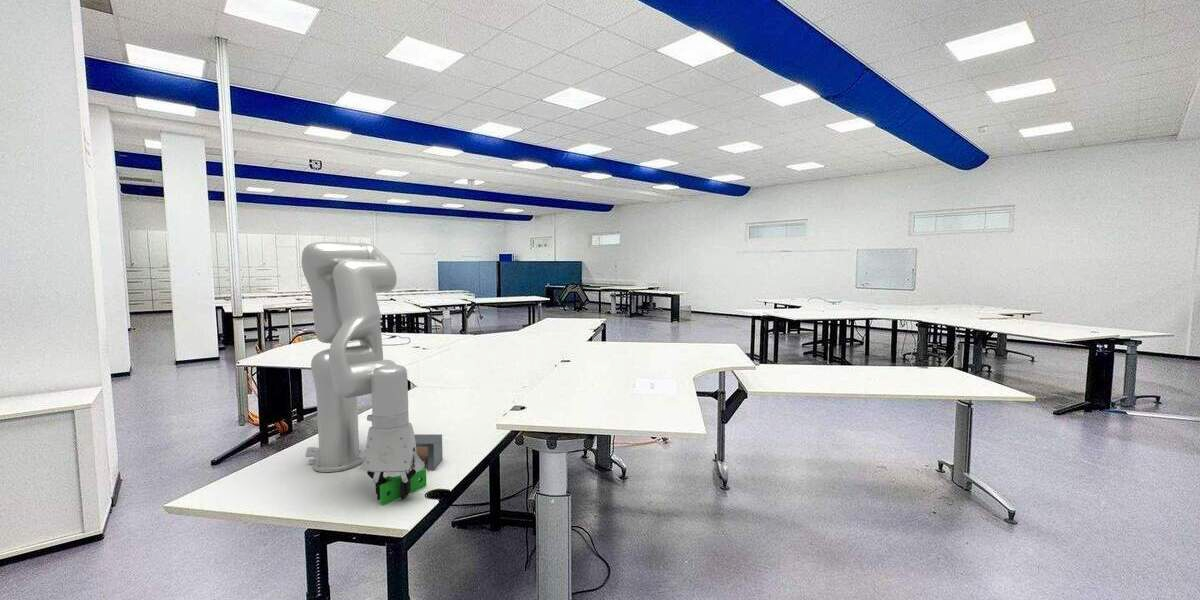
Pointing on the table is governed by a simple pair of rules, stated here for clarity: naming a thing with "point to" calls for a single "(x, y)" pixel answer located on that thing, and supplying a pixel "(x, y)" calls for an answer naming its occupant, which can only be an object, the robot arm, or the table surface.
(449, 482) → the table surface
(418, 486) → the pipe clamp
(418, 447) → the grey sleeve
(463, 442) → the table surface
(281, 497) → the table surface
